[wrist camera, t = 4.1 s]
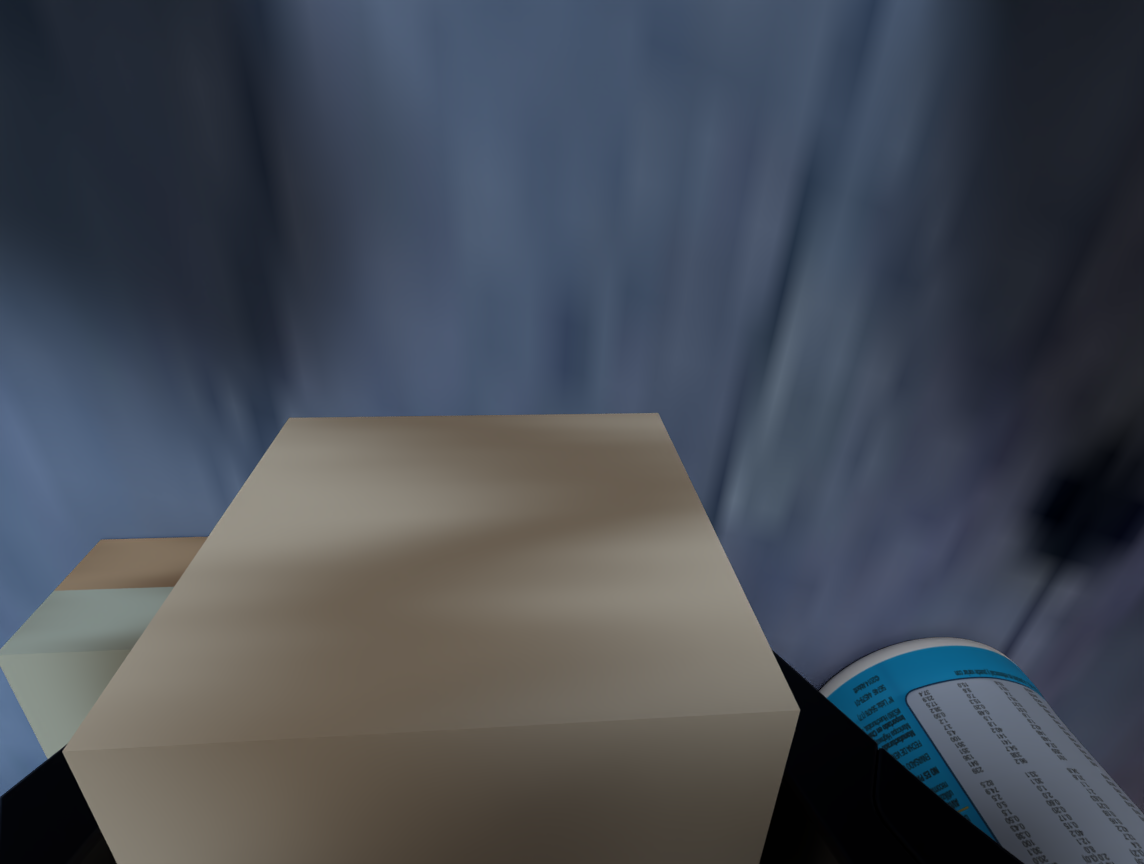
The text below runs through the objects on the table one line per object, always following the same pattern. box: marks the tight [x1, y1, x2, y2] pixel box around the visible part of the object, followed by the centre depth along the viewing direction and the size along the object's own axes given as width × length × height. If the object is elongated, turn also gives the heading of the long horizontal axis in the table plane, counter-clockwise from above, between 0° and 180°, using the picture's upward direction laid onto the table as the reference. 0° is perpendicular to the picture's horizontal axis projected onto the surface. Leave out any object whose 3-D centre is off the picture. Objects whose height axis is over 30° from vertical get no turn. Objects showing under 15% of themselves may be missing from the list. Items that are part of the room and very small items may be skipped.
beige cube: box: [62, 413, 800, 864], centre depth 8 cm, size 5×5×5 cm
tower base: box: [0, 537, 208, 759], centre depth 17 cm, size 7×7×4 cm
